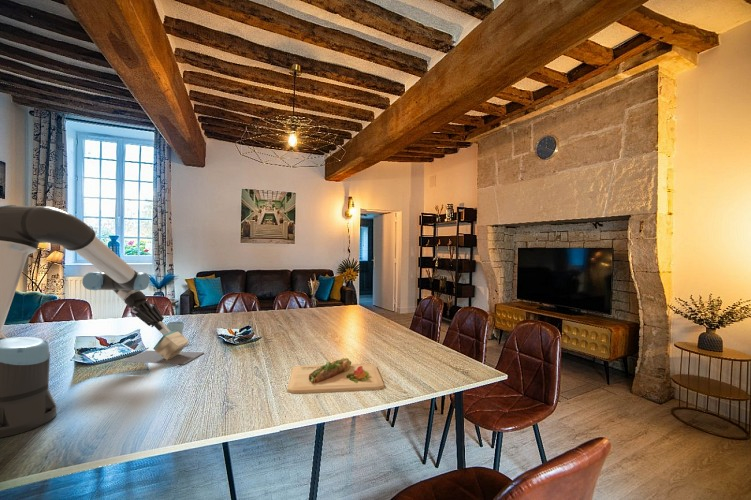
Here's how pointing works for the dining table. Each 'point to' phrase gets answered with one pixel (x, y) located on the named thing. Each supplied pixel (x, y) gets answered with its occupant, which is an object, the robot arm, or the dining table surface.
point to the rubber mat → (157, 358)
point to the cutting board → (334, 377)
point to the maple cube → (171, 344)
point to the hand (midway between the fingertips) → (167, 334)
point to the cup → (176, 326)
